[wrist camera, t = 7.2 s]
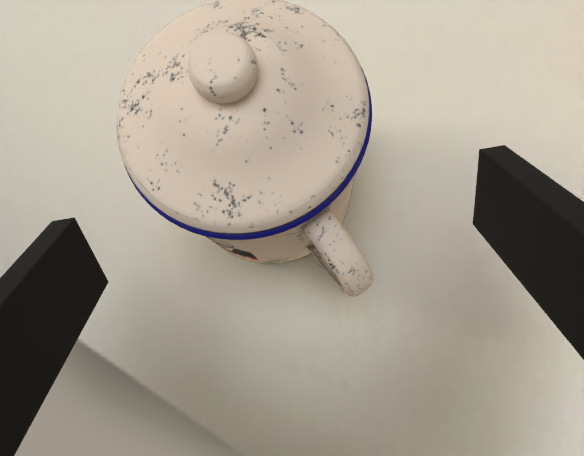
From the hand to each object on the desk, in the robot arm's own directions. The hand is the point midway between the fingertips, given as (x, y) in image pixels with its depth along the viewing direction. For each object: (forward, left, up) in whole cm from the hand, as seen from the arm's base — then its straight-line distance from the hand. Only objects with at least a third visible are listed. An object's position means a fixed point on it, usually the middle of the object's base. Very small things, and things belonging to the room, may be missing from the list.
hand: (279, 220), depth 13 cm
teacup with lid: (-1, +3, -9) cm, 9 cm away
